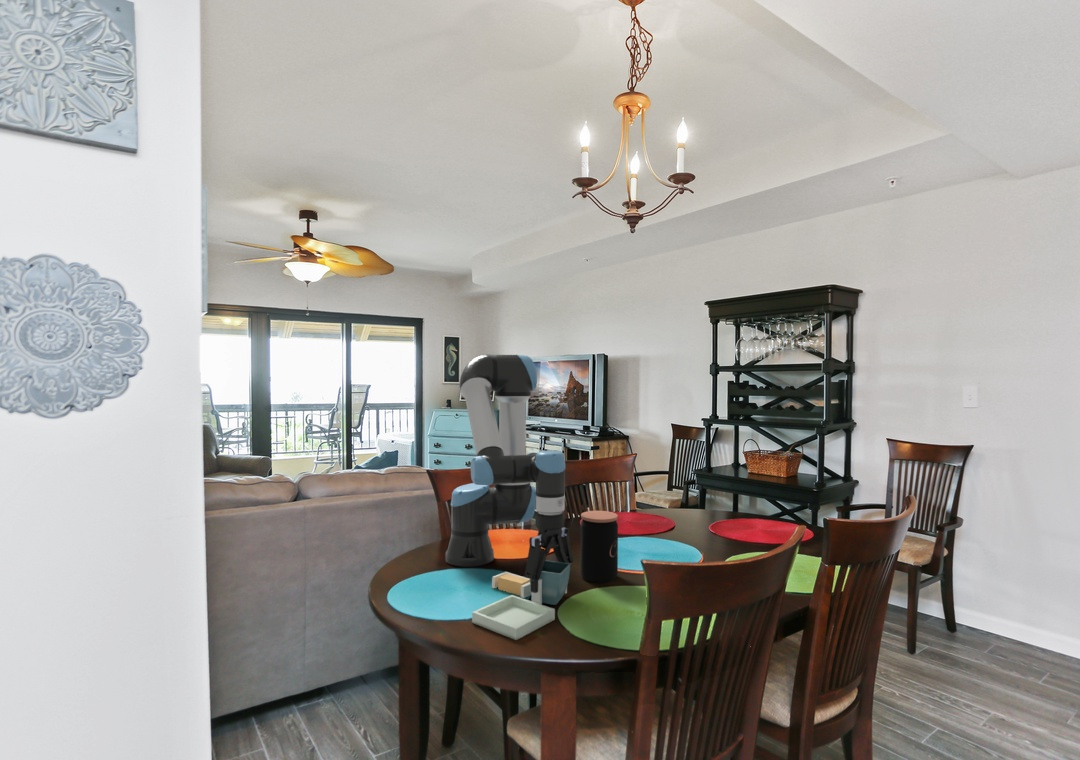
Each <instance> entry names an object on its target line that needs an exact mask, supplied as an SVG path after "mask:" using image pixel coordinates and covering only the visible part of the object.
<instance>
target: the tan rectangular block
mask: <svg viewBox="0 0 1080 760" xmlns="http://www.w3.org/2000/svg"><path fill="white" fill-rule="evenodd" d="M525 578H526V577H525ZM525 578H521V577H517V576H513V575H509V574H505V575H503V576H500V577H498V589H499V591H502V590H503V591H502V592H505V591H506V592H505V593H510V594H512V595H515V596H519V597H521V586H522V585H524V584H526V583H529V582H530V580H529V579H525Z"/></svg>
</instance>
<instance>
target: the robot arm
mask: <svg viewBox="0 0 1080 760" xmlns="http://www.w3.org/2000/svg"><path fill="white" fill-rule="evenodd" d="M537 384H538V373H537V369H536V365H535V363H534V360H533V359H532V358H531V357H530V356H528V355H523V354H521V355H520V354H481V355H479V356H475V357H474V358H472V360H470V361H469V362H467V364H466V366H465V367H464V369H462V372H461V374H460V379H459V390H460V394H461V396H462V398H463V399H465V404H466V409H467V414H468V415H467V416H468V420H469V425H470V429H471V435H472V440H473V445H474V450H475V455H476V456H473V457H472V459H471V461H470V478H471V481H472V483H467V484H463V485H460V486H458V487H456V488H454V489H453V491H452V492H451V501H450V506H451V511H450V512H451V525H450V526H451V527H450V528H451V531H450V532H451V533H450V538H449V542H448V547H447V550H445V562H446V563H447V564H450V565H451V566H455V567H456V566H457V567H463V568H464V567H465V568H466V567H470V568H471V567H480V566H484V565H488V564H489V563H492V562H493V561H494V559H495V557H494V555H495V551H494V548H493V545H492V542H491V539H490V535H489V526H494V525H504V524H505V525H506V524H521V523H525V522H526V523H527V522H529V521H531V520H532V519H533V517H534V514H535V527H536V528H537V530H538V532H537V536H535V537H534V536H530V537H529V539H528V540H529V549H528V554H527V558H526V559H527V560H526V565H525V571H524V577H525V578H529V579H530V580H531V592H532V595H531V598H530V599H531V600H530V601H532V602H535V603H538V604H541V605H543V603H542V579H539V578H540V575H541V572H542V569H543V566H544V562H545V560H547V555H549V554H550V552H551V550H552V549H553V552H554V555H555V557H556V560H557V562H563V563H570V564H571V565H570V569H571V568H572V564H573V562H574V557H573V552H572V546H571V540H570V528H567V527H565V523H566V519H565V517H566V515H565V513H564V511H565V509H566V507H565V506H566V505H565V503H566V502H565V492H566V468H567V467H566V459H565V457H566V456H565V454H564V453H563V452H562V451H559V450H540V451H538V452H529V453H527V452H526V451H527V449H526V447H527V446H526V445H527V437H526V436H527V425H526V424H527V416H526V415H527V401H529V399H530V398H532V397H531V395H532V393H531V392H535V390H536V389H537ZM491 392H494V397H495V399H496V400H497V401H498V402H499V403H498V405H499V415H498V417H499V423H498V422H497V419H496V414H495V409H494V405H493V403H492V402H493V400H492V396H491ZM498 424H499V426H498ZM526 453H527V454H526ZM531 483H535V487H534V485H532V484H531ZM492 485H494V486H492ZM490 486H492V487H490ZM567 593H568V587H567V588H566V591H565V593H564V595H565V594H567Z"/></svg>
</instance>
